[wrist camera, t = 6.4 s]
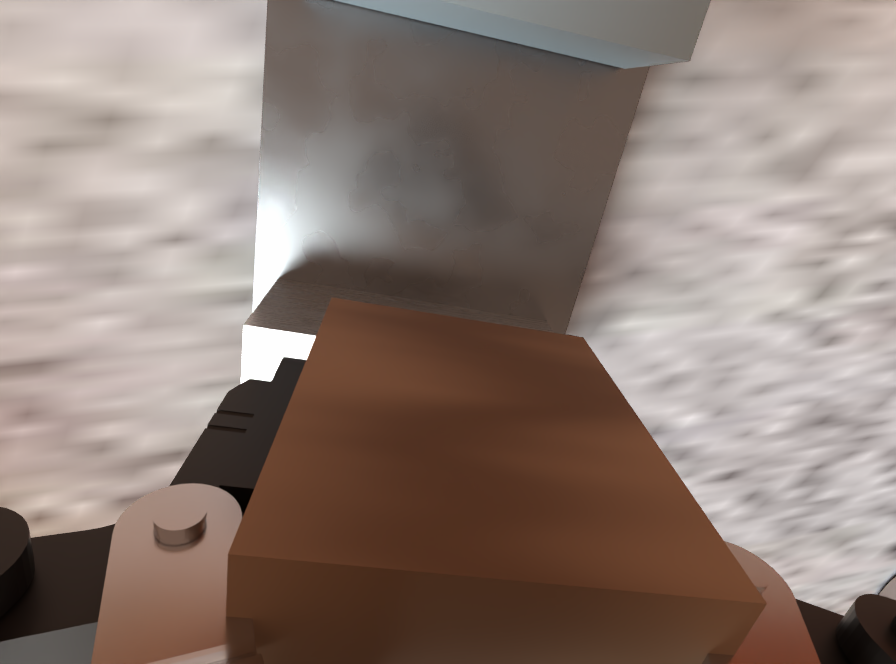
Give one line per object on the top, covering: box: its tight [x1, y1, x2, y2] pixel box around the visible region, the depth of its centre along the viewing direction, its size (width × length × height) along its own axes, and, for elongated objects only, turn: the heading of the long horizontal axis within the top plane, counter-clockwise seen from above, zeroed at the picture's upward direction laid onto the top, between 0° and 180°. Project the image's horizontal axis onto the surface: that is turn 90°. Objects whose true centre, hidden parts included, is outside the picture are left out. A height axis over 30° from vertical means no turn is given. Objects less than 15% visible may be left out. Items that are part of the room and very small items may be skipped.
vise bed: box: [241, 0, 650, 383], centre depth 18 cm, size 14×26×7 cm, turn 169°
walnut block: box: [226, 297, 767, 664], centre depth 8 cm, size 5×4×6 cm
